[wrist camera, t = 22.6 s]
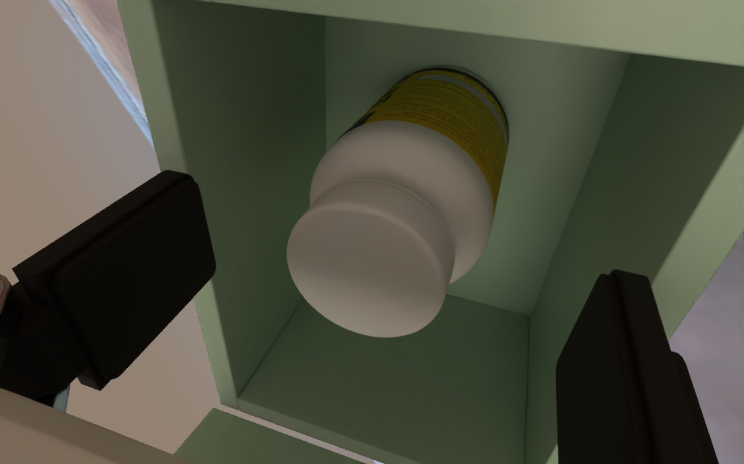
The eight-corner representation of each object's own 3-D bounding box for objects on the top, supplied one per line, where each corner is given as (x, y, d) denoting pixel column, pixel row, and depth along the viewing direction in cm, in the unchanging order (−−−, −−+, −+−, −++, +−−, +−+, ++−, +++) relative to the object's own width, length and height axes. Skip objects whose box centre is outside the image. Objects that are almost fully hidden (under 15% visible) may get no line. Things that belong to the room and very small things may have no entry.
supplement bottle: (404, 39, 16) (279, 130, 8) (537, 97, 16) (532, 247, 8) (363, 158, 20) (247, 301, 12) (472, 208, 19) (425, 389, 11)
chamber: (312, -62, 16) (98, -63, 8) (691, -33, 13) (900, 8, 5) (319, 261, 25) (220, 404, 18) (543, 320, 22) (543, 522, 15)
